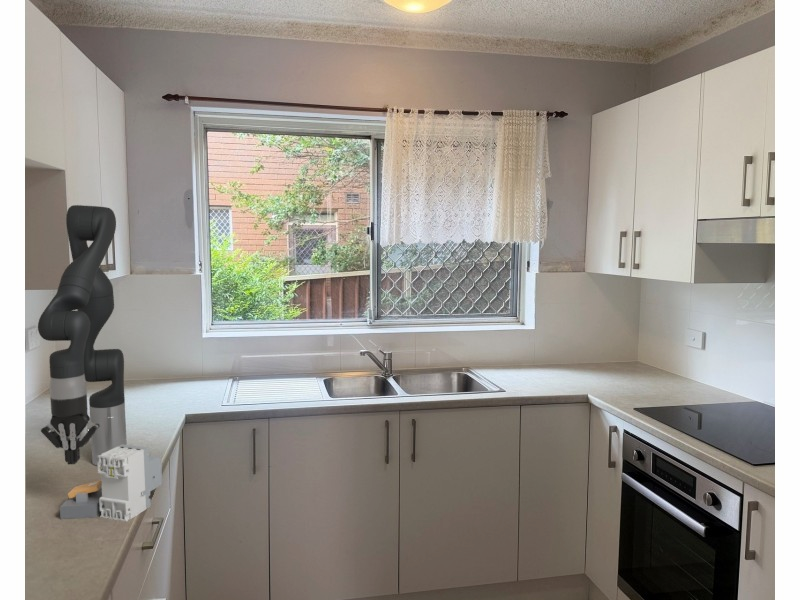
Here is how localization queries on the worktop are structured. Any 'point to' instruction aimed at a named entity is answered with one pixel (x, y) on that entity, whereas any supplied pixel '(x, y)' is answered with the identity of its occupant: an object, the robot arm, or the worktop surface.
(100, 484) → the block
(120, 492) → the electrical contactor
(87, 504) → the switch box
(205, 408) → the worktop surface
